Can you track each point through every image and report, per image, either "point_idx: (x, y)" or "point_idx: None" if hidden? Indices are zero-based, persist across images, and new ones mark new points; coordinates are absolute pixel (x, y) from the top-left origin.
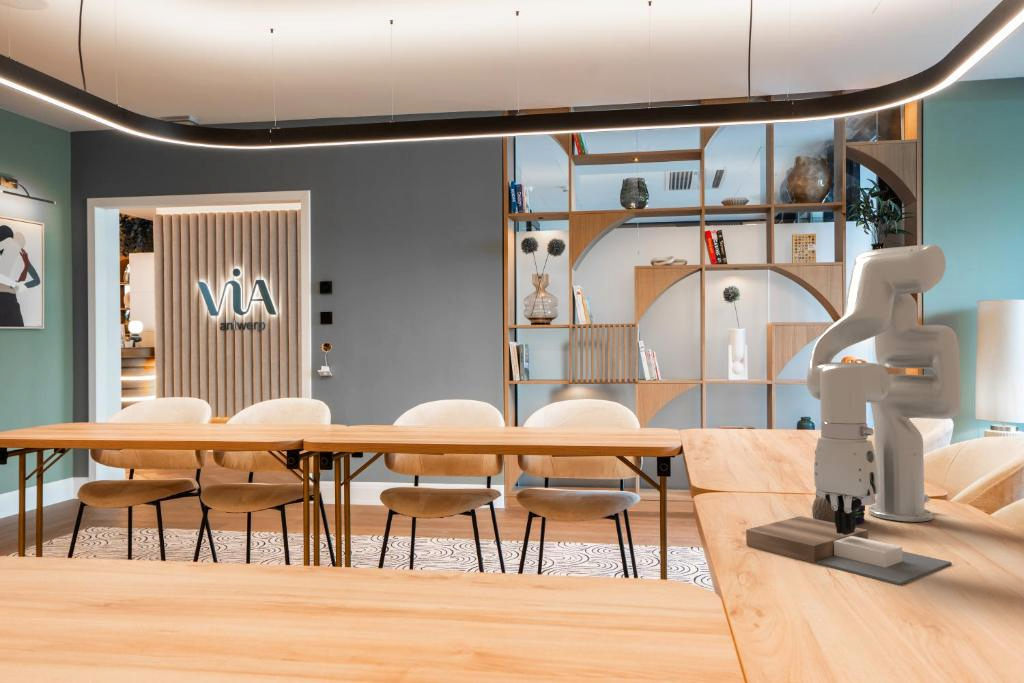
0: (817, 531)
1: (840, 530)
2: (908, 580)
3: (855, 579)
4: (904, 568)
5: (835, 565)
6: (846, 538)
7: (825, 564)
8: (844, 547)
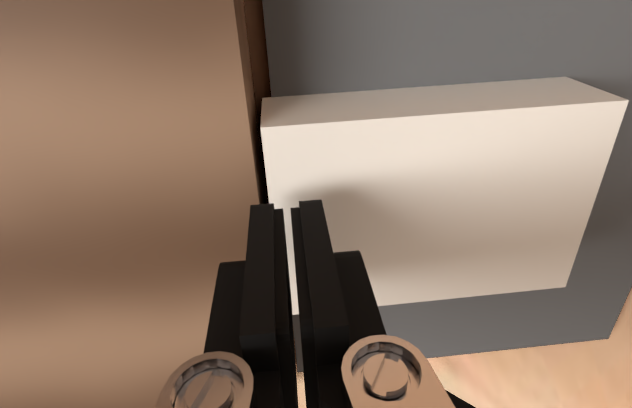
0: (59, 235)
1: (292, 317)
2: (626, 289)
3: (471, 382)
4: None
5: None
6: (285, 216)
7: None
8: None
